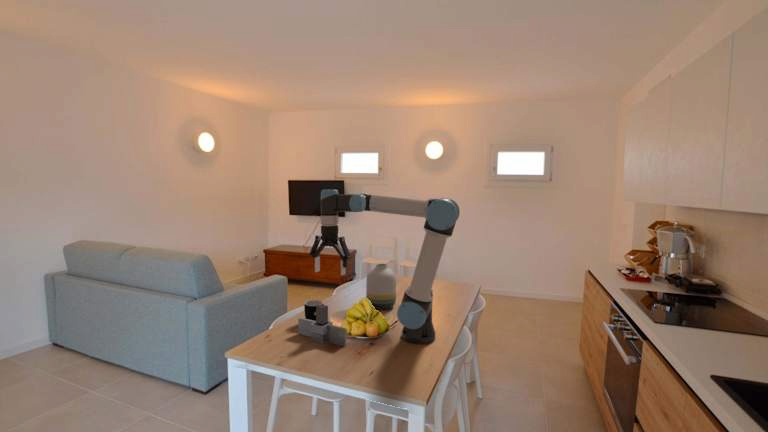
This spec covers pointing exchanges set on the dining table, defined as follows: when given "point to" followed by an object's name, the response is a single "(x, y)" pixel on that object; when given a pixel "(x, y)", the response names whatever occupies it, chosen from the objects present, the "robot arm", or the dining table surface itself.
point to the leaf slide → (311, 327)
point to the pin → (321, 315)
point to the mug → (311, 309)
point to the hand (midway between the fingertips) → (330, 273)
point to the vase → (381, 287)
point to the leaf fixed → (332, 335)
